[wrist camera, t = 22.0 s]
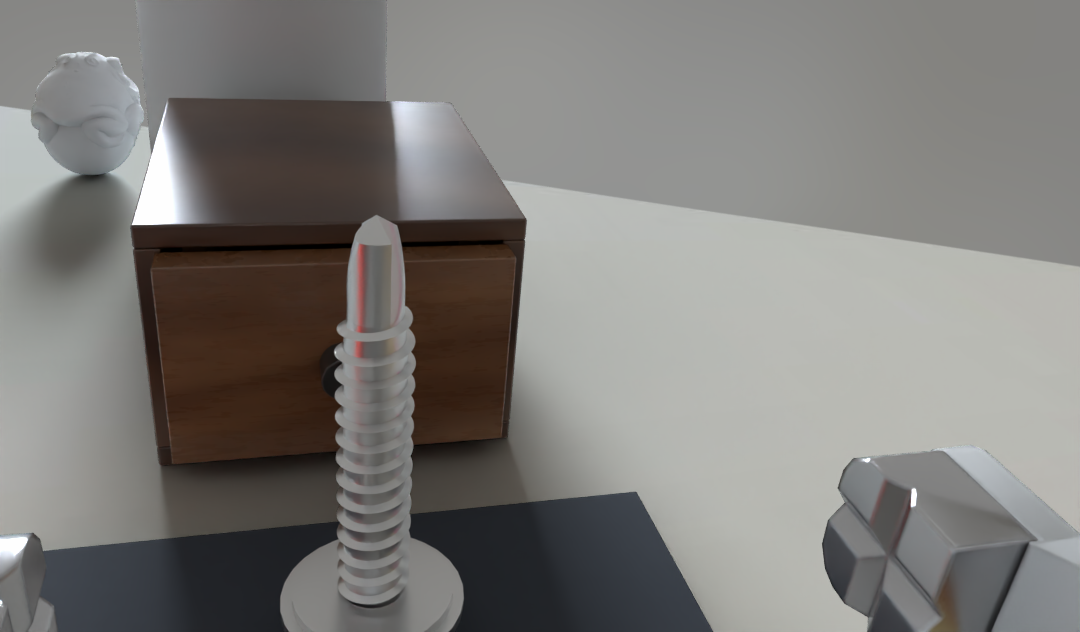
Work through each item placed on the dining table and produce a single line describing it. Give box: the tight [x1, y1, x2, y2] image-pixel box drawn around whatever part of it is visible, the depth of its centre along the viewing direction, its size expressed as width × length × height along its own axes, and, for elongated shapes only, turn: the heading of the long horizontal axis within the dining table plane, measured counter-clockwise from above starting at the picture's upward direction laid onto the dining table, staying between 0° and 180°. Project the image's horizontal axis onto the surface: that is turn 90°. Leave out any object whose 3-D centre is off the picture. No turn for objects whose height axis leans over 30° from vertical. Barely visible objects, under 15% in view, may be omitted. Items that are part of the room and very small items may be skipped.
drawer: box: [150, 241, 516, 464], centre depth 37 cm, size 15×11×7 cm
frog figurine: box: [31, 52, 144, 175], centre depth 56 cm, size 6×7×7 cm
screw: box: [280, 215, 464, 632], centre depth 23 cm, size 13×5×5 cm
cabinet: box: [130, 98, 527, 465], centre depth 39 cm, size 15×13×9 cm
